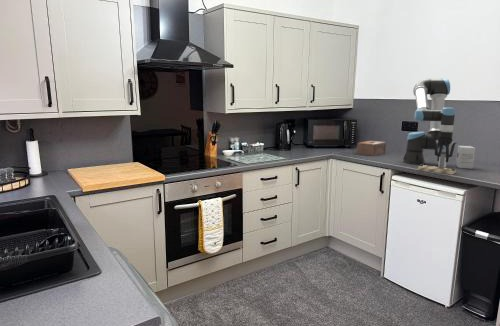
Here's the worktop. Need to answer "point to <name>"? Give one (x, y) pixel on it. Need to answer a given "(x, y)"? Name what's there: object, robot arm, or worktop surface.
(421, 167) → the tan flat oblong piece
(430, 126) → the robot arm
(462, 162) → the supplement box
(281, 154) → the worktop surface
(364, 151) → the tissue box cover
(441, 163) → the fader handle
